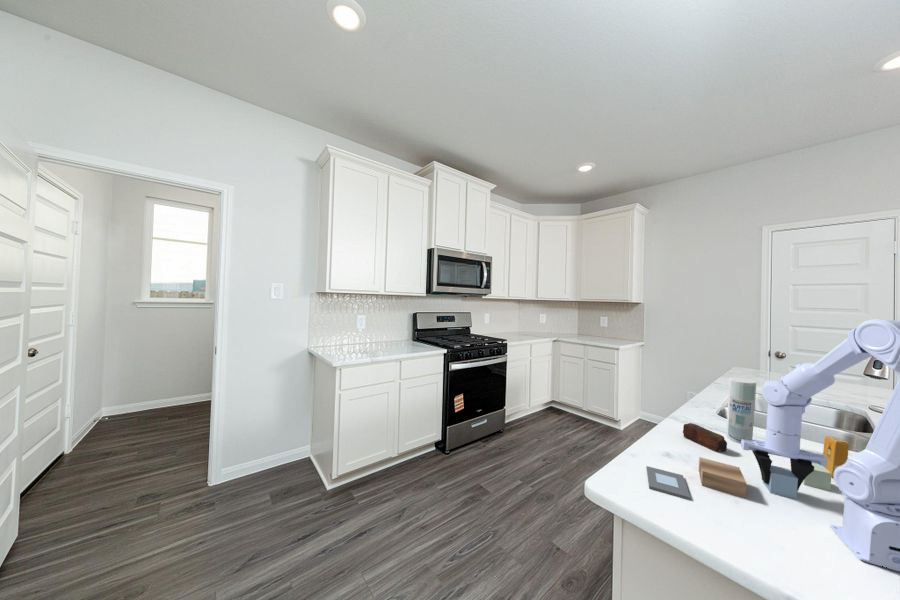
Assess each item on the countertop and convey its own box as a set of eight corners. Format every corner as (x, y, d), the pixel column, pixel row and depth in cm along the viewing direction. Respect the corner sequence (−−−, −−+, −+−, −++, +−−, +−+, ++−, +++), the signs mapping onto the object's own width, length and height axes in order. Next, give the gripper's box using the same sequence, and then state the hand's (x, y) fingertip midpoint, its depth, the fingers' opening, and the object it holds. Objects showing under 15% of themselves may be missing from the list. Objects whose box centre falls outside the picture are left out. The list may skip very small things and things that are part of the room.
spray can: (751, 439, 103) (755, 380, 102) (753, 447, 98) (757, 384, 97) (725, 433, 107) (728, 376, 106) (726, 440, 102) (729, 380, 101)
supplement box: (848, 480, 81) (851, 442, 81) (832, 478, 82) (834, 441, 82) (835, 472, 84) (837, 436, 84) (819, 471, 85) (822, 435, 85)
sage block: (830, 491, 77) (831, 473, 76) (804, 485, 79) (805, 467, 79) (820, 481, 80) (821, 464, 80) (795, 476, 83) (796, 459, 82)
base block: (745, 499, 73) (746, 483, 73) (701, 486, 77) (702, 471, 77) (738, 482, 80) (739, 467, 79) (698, 471, 84) (699, 457, 84)
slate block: (796, 499, 73) (797, 478, 73) (770, 492, 75) (771, 472, 75) (787, 488, 77) (788, 469, 77) (762, 482, 79) (764, 463, 79)
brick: (682, 437, 103) (682, 423, 103) (690, 435, 105) (691, 422, 104) (718, 453, 93) (719, 438, 93) (727, 452, 95) (728, 437, 94)
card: (690, 499, 72) (690, 497, 72) (649, 488, 76) (649, 485, 76) (682, 477, 81) (682, 474, 81) (646, 468, 84) (646, 465, 84)
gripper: (817, 431, 75) (813, 485, 76) (738, 418, 83) (735, 467, 83) (834, 443, 69) (830, 502, 70) (747, 428, 76) (744, 481, 77)
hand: (779, 485), depth 76 cm, fingers closed on slate block, 4 cm apart
